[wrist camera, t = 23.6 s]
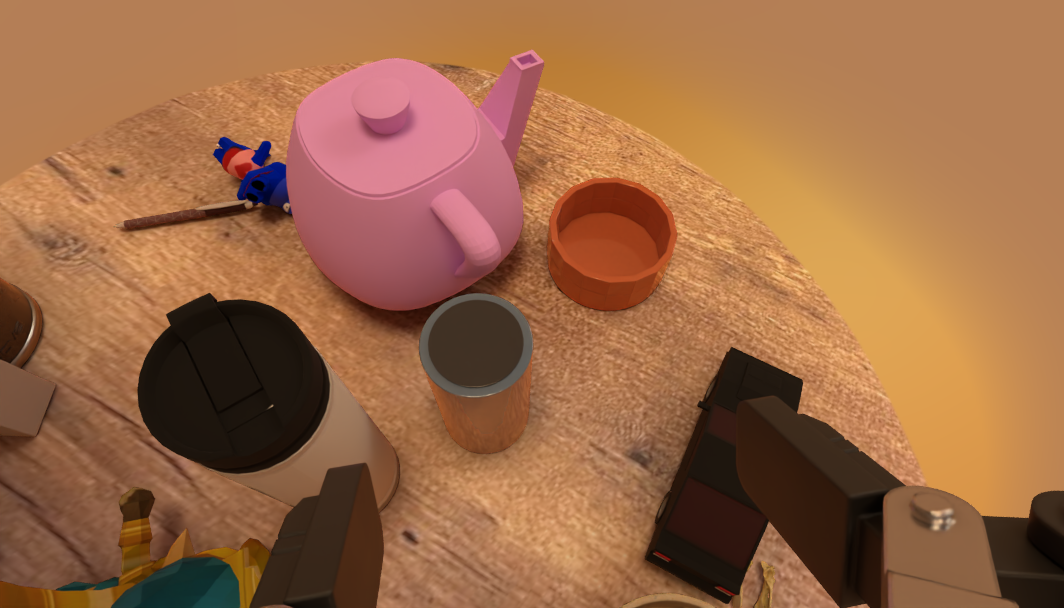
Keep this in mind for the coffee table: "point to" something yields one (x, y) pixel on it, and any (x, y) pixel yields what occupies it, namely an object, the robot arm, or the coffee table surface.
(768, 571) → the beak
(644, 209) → the orange round bowl
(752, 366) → the toy car
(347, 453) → the travel mug
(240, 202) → the pen
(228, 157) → the figurine
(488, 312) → the grey metal cylinder
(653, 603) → the flower pot
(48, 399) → the vintage mobile phone
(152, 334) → the coffee table surface
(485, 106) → the teapot
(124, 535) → the toy
